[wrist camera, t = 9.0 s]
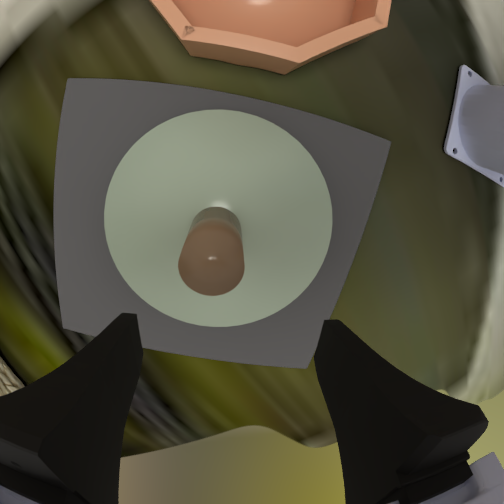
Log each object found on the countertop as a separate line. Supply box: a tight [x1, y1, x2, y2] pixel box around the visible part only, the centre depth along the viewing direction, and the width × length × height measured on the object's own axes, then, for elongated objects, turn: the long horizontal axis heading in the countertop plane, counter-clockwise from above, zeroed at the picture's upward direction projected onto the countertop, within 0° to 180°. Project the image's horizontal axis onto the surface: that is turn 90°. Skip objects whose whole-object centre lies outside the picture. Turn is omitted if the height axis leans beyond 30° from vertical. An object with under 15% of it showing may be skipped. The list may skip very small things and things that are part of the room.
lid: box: [104, 109, 333, 327], centre depth 17 cm, size 15×15×6 cm
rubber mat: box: [54, 78, 391, 369], centre depth 20 cm, size 22×20×1 cm
